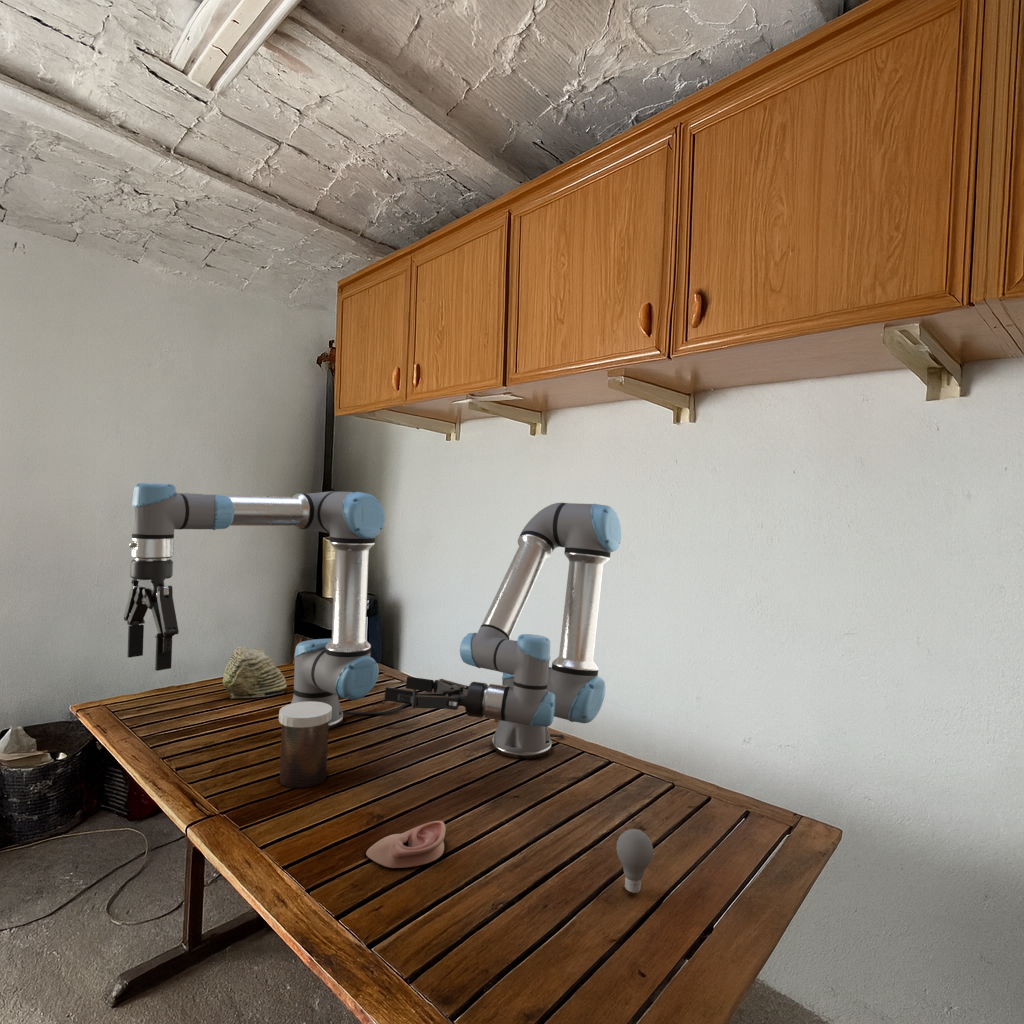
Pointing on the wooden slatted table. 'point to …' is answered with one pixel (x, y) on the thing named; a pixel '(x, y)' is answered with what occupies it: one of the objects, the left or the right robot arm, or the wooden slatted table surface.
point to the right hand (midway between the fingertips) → (396, 687)
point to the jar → (303, 755)
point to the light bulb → (634, 857)
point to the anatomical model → (410, 846)
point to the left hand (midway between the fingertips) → (148, 662)
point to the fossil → (252, 674)
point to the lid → (305, 714)
